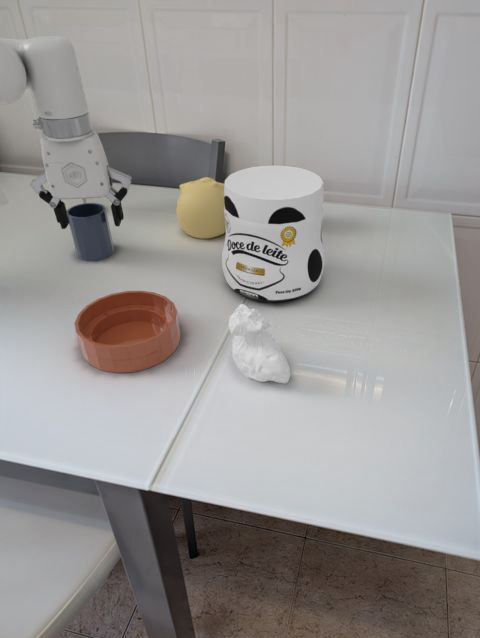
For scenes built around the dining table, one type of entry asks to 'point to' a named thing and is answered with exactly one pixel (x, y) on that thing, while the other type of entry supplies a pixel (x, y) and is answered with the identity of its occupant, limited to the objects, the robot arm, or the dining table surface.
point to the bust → (256, 347)
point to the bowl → (128, 331)
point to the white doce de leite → (273, 232)
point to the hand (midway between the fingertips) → (92, 224)
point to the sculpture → (202, 208)
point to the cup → (90, 231)
